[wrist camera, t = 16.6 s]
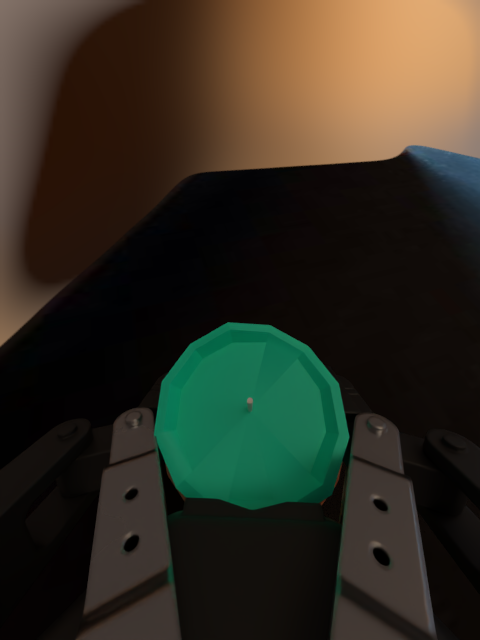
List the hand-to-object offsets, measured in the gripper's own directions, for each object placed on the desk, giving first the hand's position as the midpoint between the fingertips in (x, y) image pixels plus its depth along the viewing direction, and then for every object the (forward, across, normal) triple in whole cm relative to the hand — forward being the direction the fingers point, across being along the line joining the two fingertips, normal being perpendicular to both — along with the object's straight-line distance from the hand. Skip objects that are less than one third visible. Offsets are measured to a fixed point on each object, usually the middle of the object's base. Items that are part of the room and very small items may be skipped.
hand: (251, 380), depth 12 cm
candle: (+3, 0, +6) cm, 7 cm away
